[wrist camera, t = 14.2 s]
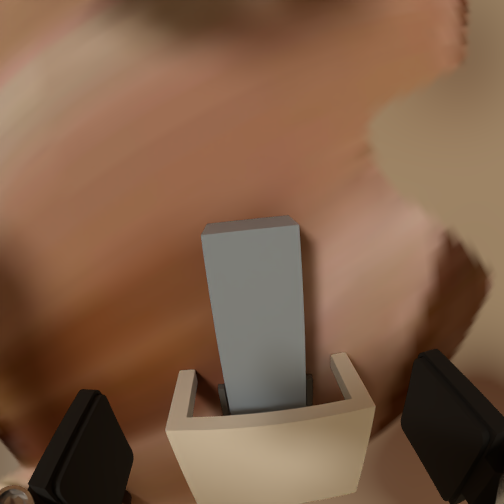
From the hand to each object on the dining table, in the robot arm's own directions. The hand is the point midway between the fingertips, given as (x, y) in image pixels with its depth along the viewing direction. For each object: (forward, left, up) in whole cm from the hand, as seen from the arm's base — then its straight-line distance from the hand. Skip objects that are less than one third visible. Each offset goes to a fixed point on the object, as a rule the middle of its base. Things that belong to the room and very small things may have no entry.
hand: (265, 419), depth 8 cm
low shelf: (+17, +1, -18) cm, 25 cm away
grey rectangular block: (+9, +1, -18) cm, 21 cm away
